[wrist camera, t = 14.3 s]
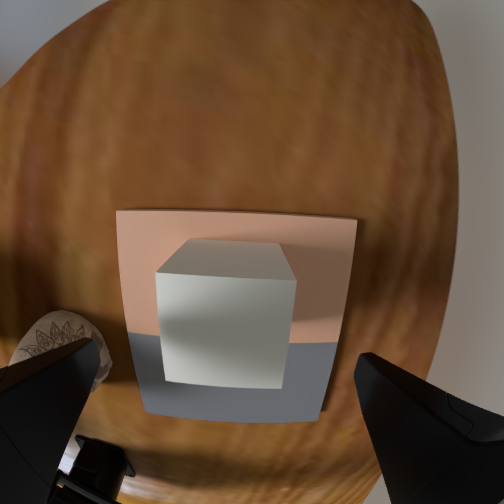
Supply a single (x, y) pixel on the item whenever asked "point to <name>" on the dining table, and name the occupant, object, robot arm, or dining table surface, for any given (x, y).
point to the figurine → (62, 339)
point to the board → (303, 320)
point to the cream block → (225, 313)
